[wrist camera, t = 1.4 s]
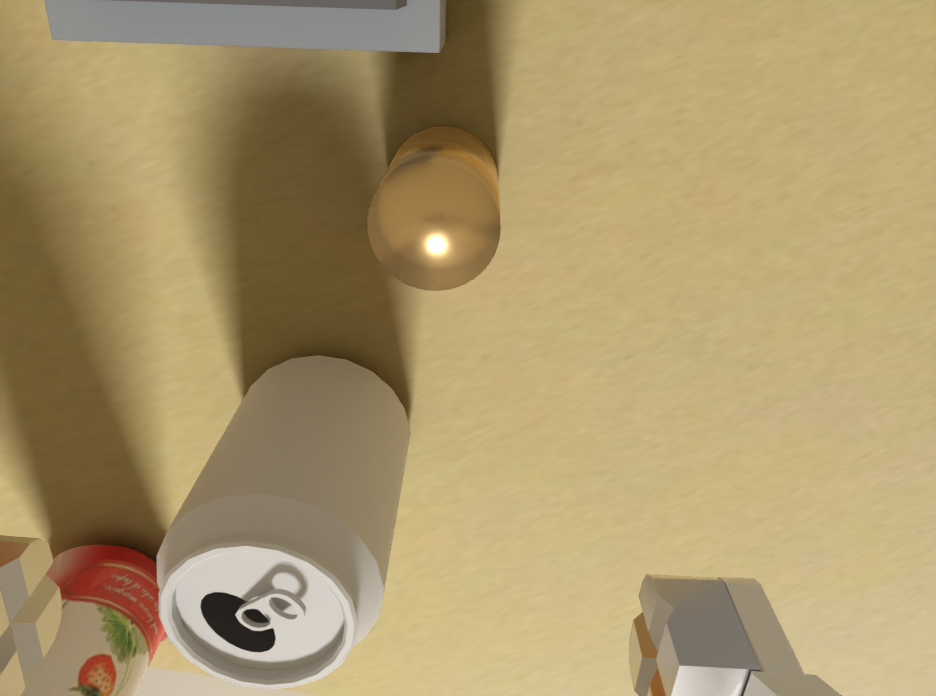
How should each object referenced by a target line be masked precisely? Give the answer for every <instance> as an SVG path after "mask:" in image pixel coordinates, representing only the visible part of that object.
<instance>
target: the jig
mask: <svg viewBox="0 0 936 696" xmlns="http://www.w3.org/2000/svg"><path fill="white" fill-rule="evenodd" d="M45 6H46V11H47V16H48V21H49V26H50V31H51V36H52V40H70V41H99V42H129V43H159V44H188V45H218V46H248V47H277V48H307V49H336V50H366V51H396V52H425V53H440V51H441V49H442V48H443V46H444V45H445V43H446V0H45Z"/></svg>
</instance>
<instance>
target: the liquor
mask: <svg viewBox="0 0 936 696" xmlns="http://www.w3.org/2000/svg"><path fill="white" fill-rule="evenodd" d="M53 561H54V562H53V564H52V565H51V566H50V568H49V569H48V571H47V572H46V575H47V576H48V577H49V578H50V579H51V580H52V581H53V582H54V583H55V584H56V585H58V586H59V588H60V593H61V599H62V614H61V621H60V624H59V627H58V631H57V634H56V637H55V640H54V642H53V644H52V645H51V647H50V649H49V650H48V652H47V654H46V655H45V657H44V659H42V660H41V661H39V662H38V663H36V664H35V665H33V666H32V667H30V668H28V669H27V670H25V671H24V672H23V677H24V682H25V686H26V688H25V689H24V691H23V692H22V694H21V696H135V695H136V692H137V690H138V688H139V685H140V684H141V681H142V679H143V677H144V675H145V673H146V671H147V668H148V666H149V664H150V662H151V660H152V658H153V655H154V653H155V651H156V649H157V647H158V644H159V643H160V642H162V641H163V640H165V639H166V638H167V637H168V636H167V634H166V632H165V629H164V627H163V625H162V623H161V620H160V618H159V597H158V593H159V591H160V589H159V587H158V584H157V563H156V562H155V561H154V560H153V559H151V558H150V557H149V556H147V555H146V554H144V553H142V552H140V551H138V550H135V549H133V548H129V547H125V546H118V545H98V544H96V545H83V546H79V547H75V548H71V549H68V550H66V551H64V552H62V553H60V554H59V555H58V556H56V557H55V558H54V559H53Z"/></svg>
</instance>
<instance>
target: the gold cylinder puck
mask: <svg viewBox="0 0 936 696" xmlns="http://www.w3.org/2000/svg"><path fill="white" fill-rule="evenodd" d="M367 231H368V237H369V241H370V245H371V247H372V250H373V252H374V254H375V256H376V258H377V259H378V261H379V262H380V263H381V265H382V266H383V267H384V268H385V269H386V270H387V271H388V272H389V273H390V274H391V275H392V276H394V277H395V278H397V279H398V280H400V281H401V282H403V283H405V284H407V285H409V286H412V287H415V288H419V289H423V290H432V291H438V290H448V289H452V288H456V287H459V286H461V285H464V284H466V283H468V282H469V281H471V280H473V279H474V278H475V277H477V276H478V275H479V274H480V273H481V272H482V271H483V270H484V269H485V268H486V267H487V266H488V264H489V263H490V262H491V260H492V258H493V256H494V254H495V252H496V249H497V247H498V243H499V239H500V206H499V186H498V173H497V168H496V164H495V161H494V159H493V157H492V155H491V153H490V152H489V150H488V149H487V147H486V146H485V145H484V144H483V143H482V142H481V141H480V140H479V139H478V138H477V137H475V136H474V135H472V134H471V133H469V132H467V131H465V130H462V129H460V128H456V127H451V126H435V127H429V128H426V129H423V130H421V131H419V132H417V133H415V134H414V135H412V136H410V137H409V138H408V139H407V140H406V141H405V142H404V143H403V144H402V145H401V146H400V148H399V149H398V151H397V152H396V154H395V156H394V158H393V160H392V162H391V164H390V166H389V168H388V170H387V172H386V174H385V175H384V177H383V179H382V181H381V183H380V185H379V187H378V189H377V191H376V193H375V195H374V197H373V199H372V201H371V204H370V207H369V211H368V217H367Z"/></svg>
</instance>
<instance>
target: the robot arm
mask: <svg viewBox="0 0 936 696" xmlns="http://www.w3.org/2000/svg"><path fill="white" fill-rule="evenodd" d="M53 562H54V561H53V557H52V553H51V550H50V546H49V543H48V542H46V541H44V540H42V539H39V538H27V537H15V536H3V535H0V696H21V694H22V692H23V691H24V689H25V688H26V686H25V682H24V677H23V672H24V671H25V670H27V669H28V668H30V667H32V666H33V665H35V664H36V663H38V662H39V661H41V660H42V659H44V657H45V655H46V654H47V652H48V650H49V649H50V647H51V645H52V644H53V642H54V640H55V637H56V634H57V631H58V627H59V624H60V621H61V614H62V599H61V593H60V588H59V586H58V585H56V584H55V583H54V582H53V581H52V580H51V579H50V578H49V577H48V576H47V575H46V572H47V571H48V569H49V568H50V566H51V565H52V564H53ZM639 598H640V602H641V606H642V610H643V612H642V613H641V614H640V615H639V616H637V617H636V618H635V619H634V620H633V624H632V629H631V634H630V645H629V662H630V671H631V677H632V682H633V687H634V691H635V692H636V693H637V694H638V695H639V696H842V695H840V694H839V693H838V692H837V691H835V690H834V689H833V688H831V687H830V686H829V685H828V684H826V683H825V682H824V681H823V680H821V679H820V678H819V677H818V676H816V675H807V674H804V672H803V670H802V667H801V665H800V663H799V661H798V659H797V657H796V655H795V653H794V651H793V649H792V647H791V645H790V643H789V641H788V639H787V637H786V635H785V633H784V631H783V629H782V627H781V625H780V623H779V621H778V619H777V617H776V614H775V612H774V610H773V608H772V606H771V604H770V602H769V600H768V598H767V596H766V594H765V592H764V590H763V588H762V586H761V584H760V583H759V582H758V581H756V580H755V579H745V578H721V577H719V578H710V577H691V576H671V575H652V574H646V576H645V578H644V580H643V581H642V585H641V589H640V593H639Z"/></svg>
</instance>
